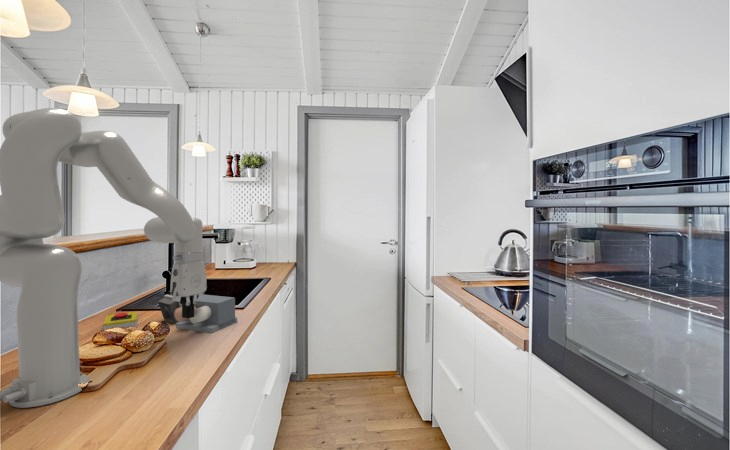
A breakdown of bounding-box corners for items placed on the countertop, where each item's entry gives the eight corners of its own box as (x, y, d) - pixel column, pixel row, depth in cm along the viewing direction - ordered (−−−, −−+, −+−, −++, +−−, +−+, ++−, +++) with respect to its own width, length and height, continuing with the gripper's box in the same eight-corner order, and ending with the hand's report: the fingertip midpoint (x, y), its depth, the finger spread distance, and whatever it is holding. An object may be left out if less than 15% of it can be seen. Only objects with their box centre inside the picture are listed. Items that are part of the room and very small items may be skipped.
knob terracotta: (185, 322, 110) (184, 308, 110) (174, 321, 111) (174, 307, 111) (211, 312, 121) (211, 300, 120) (201, 311, 122) (201, 299, 122)
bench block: (211, 333, 110) (211, 305, 109) (175, 327, 114) (175, 301, 114) (237, 321, 121) (236, 296, 121) (203, 317, 126) (202, 293, 125)
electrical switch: (188, 321, 121) (185, 296, 120) (173, 327, 117) (170, 300, 116) (173, 317, 126) (170, 292, 125) (159, 322, 122) (155, 297, 121)
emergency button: (101, 321, 109) (106, 310, 121) (101, 335, 109) (106, 322, 122) (136, 317, 114) (138, 306, 126) (137, 330, 114) (138, 318, 127)
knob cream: (199, 324, 108) (199, 310, 108) (188, 322, 109) (188, 309, 109) (225, 314, 119) (225, 301, 119) (215, 312, 120) (215, 300, 120)
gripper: (177, 261, 98) (177, 325, 98) (216, 256, 112) (215, 312, 112) (157, 259, 100) (157, 322, 100) (198, 255, 114) (197, 310, 115)
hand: (188, 317), depth 106 cm, fingers closed
